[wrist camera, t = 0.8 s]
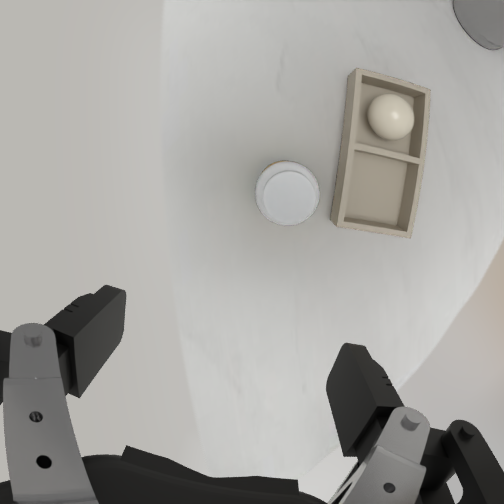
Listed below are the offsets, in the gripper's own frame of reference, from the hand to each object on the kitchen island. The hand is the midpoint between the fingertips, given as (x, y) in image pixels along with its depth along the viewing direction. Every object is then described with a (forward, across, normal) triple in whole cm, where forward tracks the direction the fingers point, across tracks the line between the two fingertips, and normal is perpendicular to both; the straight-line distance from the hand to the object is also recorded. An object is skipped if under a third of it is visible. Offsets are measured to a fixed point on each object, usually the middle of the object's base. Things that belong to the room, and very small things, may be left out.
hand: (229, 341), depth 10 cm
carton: (+22, -11, -11) cm, 27 cm away
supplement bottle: (+23, -2, -5) cm, 24 cm away
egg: (+22, -11, -15) cm, 28 cm away
